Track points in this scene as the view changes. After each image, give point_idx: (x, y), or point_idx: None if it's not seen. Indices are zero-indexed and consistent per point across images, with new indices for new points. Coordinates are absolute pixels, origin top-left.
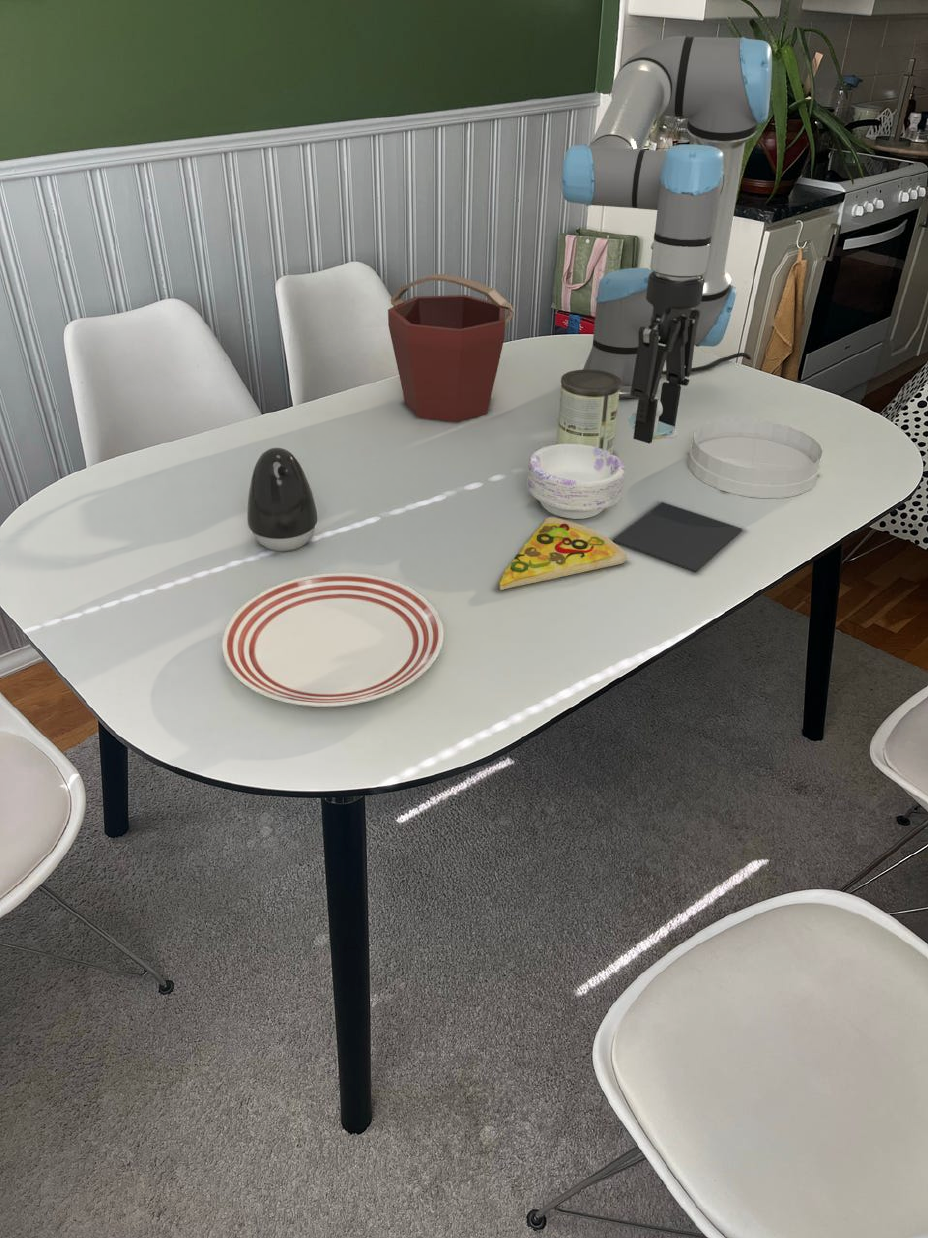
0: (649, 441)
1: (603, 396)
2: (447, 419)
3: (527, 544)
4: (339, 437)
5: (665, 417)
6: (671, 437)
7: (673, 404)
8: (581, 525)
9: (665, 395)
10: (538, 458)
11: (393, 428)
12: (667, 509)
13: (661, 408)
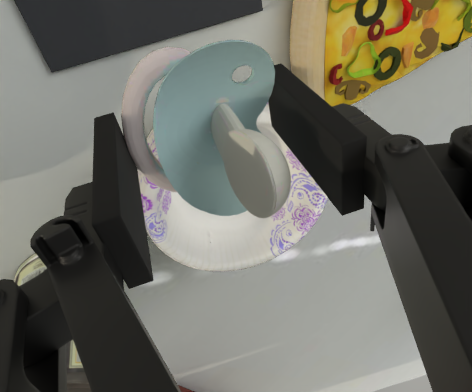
0: (283, 67)
1: (72, 367)
2: (185, 389)
3: (407, 70)
4: (305, 373)
5: (127, 161)
6: (185, 50)
7: (121, 173)
8: (309, 63)
9: (141, 226)
10: (276, 242)
11: (248, 381)
12: (64, 38)
13: (258, 135)
